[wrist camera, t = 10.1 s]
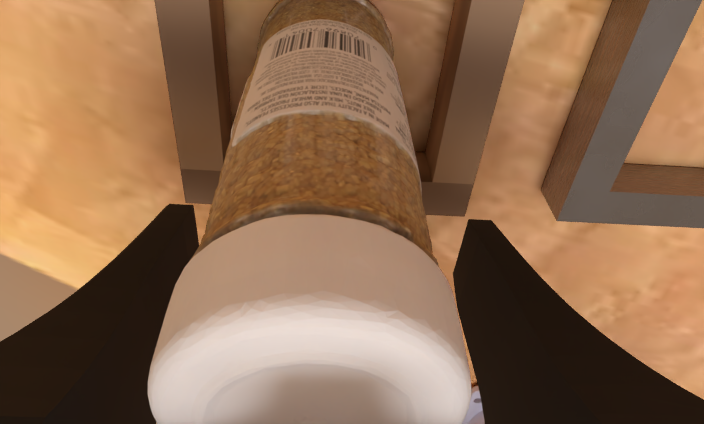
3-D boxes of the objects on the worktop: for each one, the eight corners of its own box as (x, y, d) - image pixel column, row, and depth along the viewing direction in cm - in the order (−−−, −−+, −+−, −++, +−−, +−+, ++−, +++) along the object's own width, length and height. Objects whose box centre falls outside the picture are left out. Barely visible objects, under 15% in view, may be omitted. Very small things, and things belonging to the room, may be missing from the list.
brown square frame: (455, 185, 21) (464, 216, 20) (197, 172, 21) (185, 202, 19) (529, -111, 15) (552, -100, 13) (155, -145, 14) (133, -138, 12)
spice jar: (247, 90, 18) (125, 479, 8) (277, -42, 16) (153, 281, 5) (368, 125, 19) (403, 512, 9) (416, 6, 17) (546, 360, 6)
